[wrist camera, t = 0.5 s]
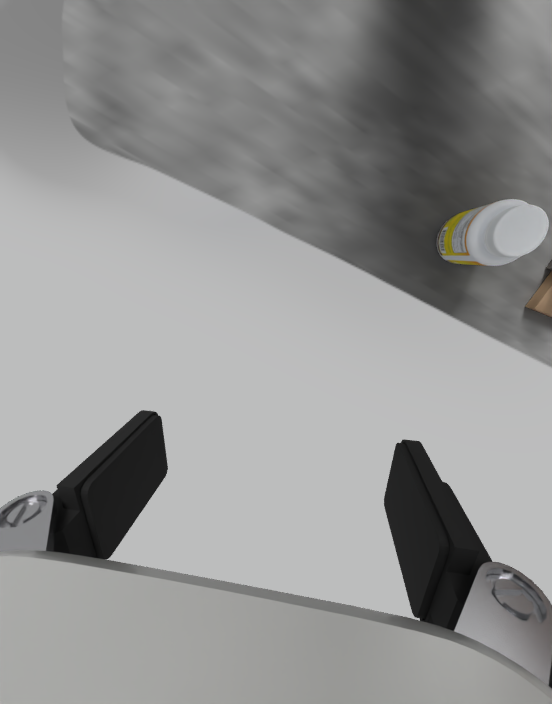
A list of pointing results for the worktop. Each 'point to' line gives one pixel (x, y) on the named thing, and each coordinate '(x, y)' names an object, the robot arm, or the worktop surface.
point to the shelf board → (543, 296)
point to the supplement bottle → (493, 233)
